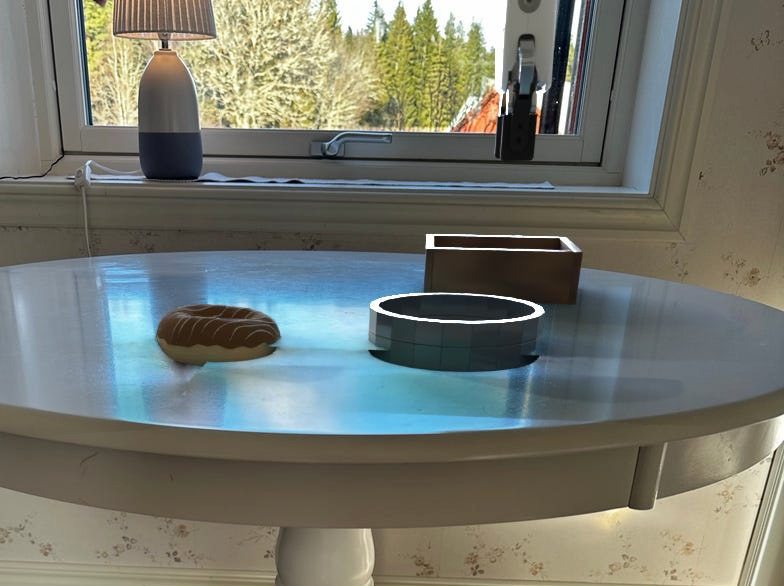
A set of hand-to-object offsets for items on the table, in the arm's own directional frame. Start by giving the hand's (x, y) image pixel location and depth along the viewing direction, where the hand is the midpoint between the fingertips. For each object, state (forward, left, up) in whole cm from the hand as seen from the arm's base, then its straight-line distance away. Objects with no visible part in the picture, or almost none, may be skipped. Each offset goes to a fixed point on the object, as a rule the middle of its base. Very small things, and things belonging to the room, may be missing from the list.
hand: (512, 159), depth 98 cm
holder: (0, 0, -15) cm, 15 cm away
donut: (+25, +29, -15) cm, 41 cm away
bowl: (+5, +27, -15) cm, 31 cm away
